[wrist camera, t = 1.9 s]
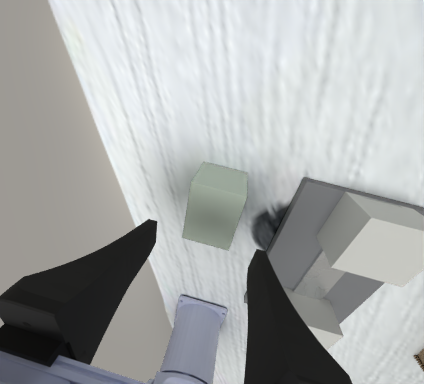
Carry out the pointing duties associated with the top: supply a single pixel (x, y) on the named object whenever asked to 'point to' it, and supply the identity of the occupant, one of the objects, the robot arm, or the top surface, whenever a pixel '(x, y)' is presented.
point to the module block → (215, 205)
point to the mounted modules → (364, 254)
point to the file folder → (420, 359)
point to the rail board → (318, 250)
